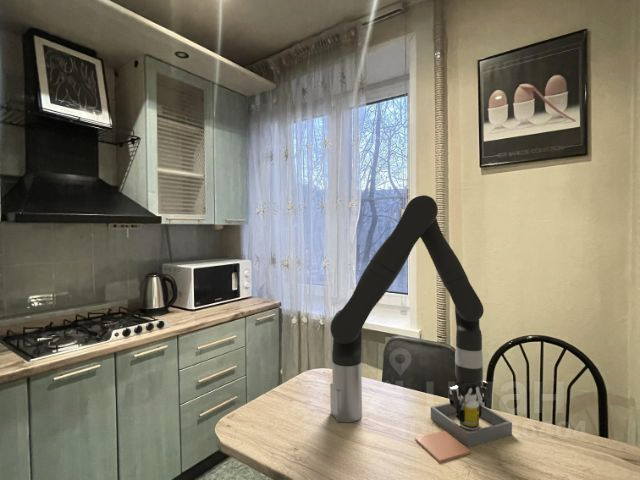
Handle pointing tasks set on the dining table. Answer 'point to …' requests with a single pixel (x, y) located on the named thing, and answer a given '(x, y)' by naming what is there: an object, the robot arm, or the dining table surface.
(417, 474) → the dining table surface
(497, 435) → the bin
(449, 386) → the robot arm
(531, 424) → the dining table surface
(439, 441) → the tile
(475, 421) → the supplement bottle
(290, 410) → the dining table surface
